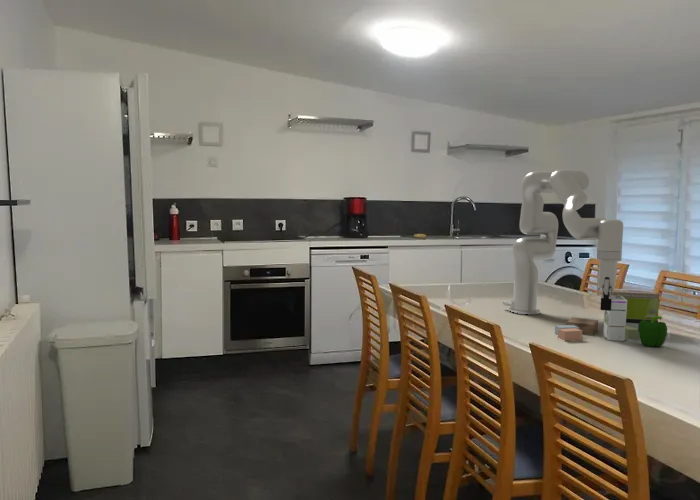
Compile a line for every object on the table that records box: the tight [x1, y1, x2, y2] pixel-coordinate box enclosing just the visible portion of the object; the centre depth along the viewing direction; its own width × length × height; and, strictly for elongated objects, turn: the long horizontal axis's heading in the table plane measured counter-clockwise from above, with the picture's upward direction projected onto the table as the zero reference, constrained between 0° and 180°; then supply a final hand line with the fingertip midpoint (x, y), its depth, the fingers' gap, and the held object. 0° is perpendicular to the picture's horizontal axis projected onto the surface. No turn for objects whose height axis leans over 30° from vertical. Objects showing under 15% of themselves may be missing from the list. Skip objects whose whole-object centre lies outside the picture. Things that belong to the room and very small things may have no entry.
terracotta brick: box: [557, 328, 583, 341], centre depth 191 cm, size 7×4×4 cm, turn 106°
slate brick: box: [554, 324, 579, 336], centre depth 196 cm, size 7×4×4 cm, turn 98°
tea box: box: [612, 288, 660, 334], centre depth 205 cm, size 15×10×15 cm
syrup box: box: [602, 295, 627, 342], centre depth 191 cm, size 6×6×14 cm
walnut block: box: [566, 317, 599, 336], centre depth 204 cm, size 9×9×4 cm
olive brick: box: [625, 325, 639, 340], centre depth 196 cm, size 7×4×4 cm, turn 179°
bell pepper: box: [638, 315, 668, 348], centre depth 183 cm, size 8×8×10 cm
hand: (606, 308), depth 191 cm, fingers closed on syrup box, 6 cm apart
